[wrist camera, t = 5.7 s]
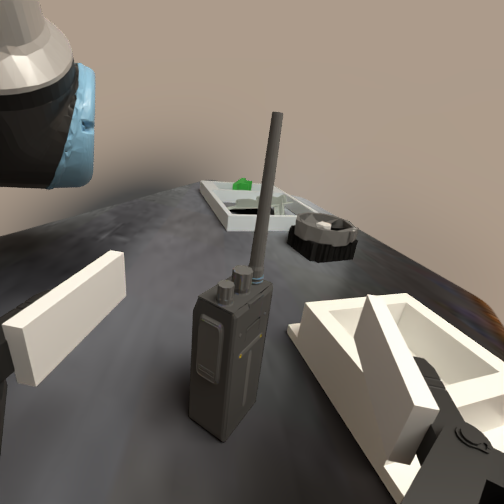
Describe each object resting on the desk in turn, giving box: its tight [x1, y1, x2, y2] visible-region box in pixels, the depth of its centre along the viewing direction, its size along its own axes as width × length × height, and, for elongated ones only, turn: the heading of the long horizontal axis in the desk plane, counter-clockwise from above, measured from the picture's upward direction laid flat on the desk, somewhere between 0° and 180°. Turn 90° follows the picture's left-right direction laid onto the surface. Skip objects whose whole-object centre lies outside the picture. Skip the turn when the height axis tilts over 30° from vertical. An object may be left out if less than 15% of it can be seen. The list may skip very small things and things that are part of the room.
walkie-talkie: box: [189, 112, 283, 442], centre depth 18 cm, size 5×3×20 cm
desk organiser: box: [200, 181, 318, 231], centre depth 71 cm, size 30×21×3 cm
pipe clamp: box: [232, 178, 252, 191], centre depth 80 cm, size 10×4×4 cm, turn 169°
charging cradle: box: [287, 293, 504, 504], centre depth 25 cm, size 16×12×5 cm
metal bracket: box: [227, 195, 293, 215], centre depth 69 cm, size 14×6×15 cm
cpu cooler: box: [287, 212, 359, 263], centre depth 52 cm, size 10×6×10 cm
